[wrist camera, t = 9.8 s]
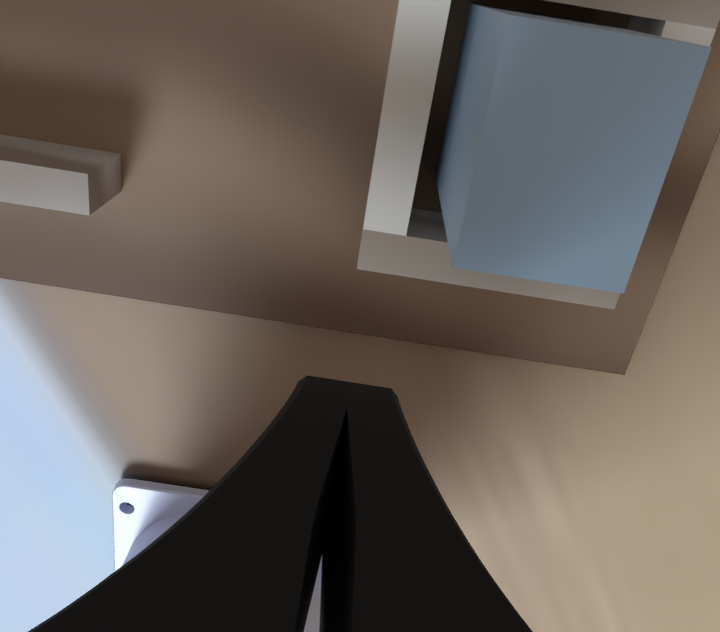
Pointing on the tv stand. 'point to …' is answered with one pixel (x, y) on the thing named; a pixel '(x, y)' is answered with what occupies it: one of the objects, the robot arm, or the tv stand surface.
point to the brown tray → (296, 167)
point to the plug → (559, 144)
